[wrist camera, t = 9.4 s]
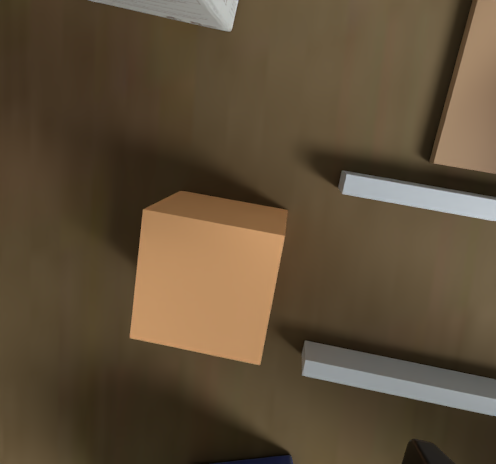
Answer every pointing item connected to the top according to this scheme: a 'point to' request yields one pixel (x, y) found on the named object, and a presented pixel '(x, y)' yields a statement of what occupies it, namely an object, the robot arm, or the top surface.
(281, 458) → the supplement box
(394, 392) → the channel
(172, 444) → the top surface
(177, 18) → the supplement box
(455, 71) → the coaster
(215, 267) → the block
